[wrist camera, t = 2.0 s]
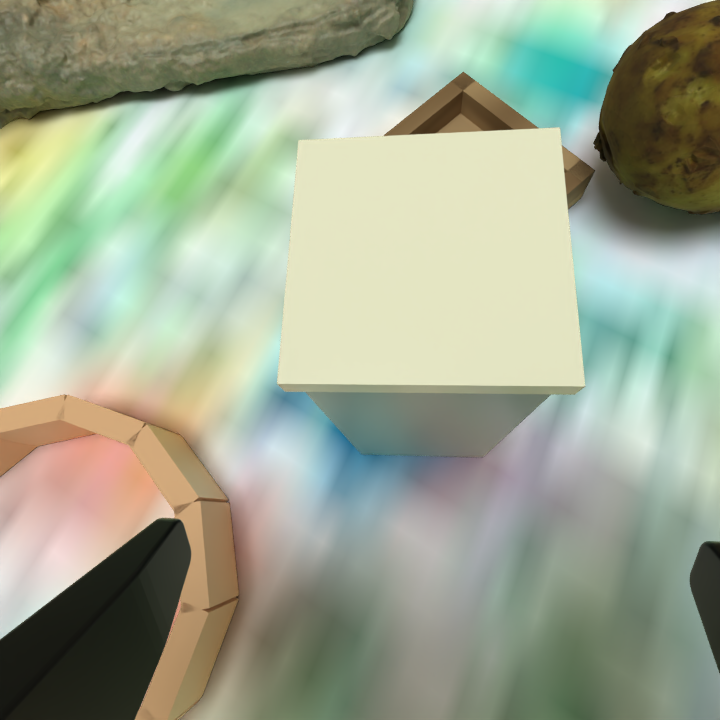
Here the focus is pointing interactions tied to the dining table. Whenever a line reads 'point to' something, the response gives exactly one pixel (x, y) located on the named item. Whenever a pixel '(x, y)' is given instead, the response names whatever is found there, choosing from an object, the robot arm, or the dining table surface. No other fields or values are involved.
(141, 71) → the long grey stone
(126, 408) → the dining table surface
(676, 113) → the potato
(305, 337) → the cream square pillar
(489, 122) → the parts tray
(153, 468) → the tan polygonal ring
